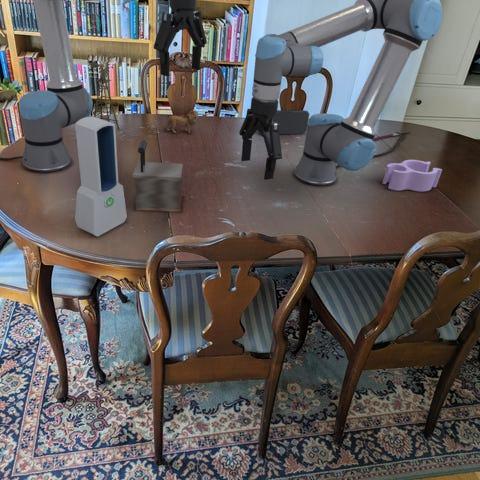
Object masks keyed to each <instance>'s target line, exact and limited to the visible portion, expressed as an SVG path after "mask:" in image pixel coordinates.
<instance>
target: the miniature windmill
mask: <svg viewBox="0 0 480 480" xmlns="http://www.w3.org/2000/svg"><path fill="white" fill-rule="evenodd" d="M104 58H106V59H104ZM99 59H100V60H99V63H97V62H94V61H90V68H91V69H98V71H99V72H98V74H99V78H98V79H96V80H95V82H96V83H98V86H97V93H96V94H97V95H96V98H95V107H94V111H93V113H94V115H93V117H96V118H97V117H98V116H99V115H100V118H99V117H98V118H99V119H102V120H105V121H108V122H111V121H113V123H114V124H115V126H116V128H117V130H120V125H119V120H118V118H117V114H116V112H115V107H114V105H113V100H112V96H111V93H110V90H109V86H108V83H109V82H111V81H112V80H111V79H109V78H108V76H109V73H110V70H109V69H110V68H111V66H110V59H109V57H108V54H105V53H103V54H102V56H100V58H99ZM106 91H107V94H106ZM107 95H108V96H107ZM103 98H104V99H103ZM108 101H109V102H110V105H111V107H110V106H108ZM103 102H104V103H105V106H104V105H103ZM99 105H100V107H98V106H99ZM103 108H104V109H105V111H103ZM109 109H110V110H109ZM97 112H98V113H97ZM111 112H112V114H113V117H114V119H111V118H110V116H109V113H111ZM103 113H105V114H106V117H107V118H106V117H103Z"/></svg>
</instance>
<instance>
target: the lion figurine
mask: <svg viewBox="0 0 480 480" xmlns="http://www.w3.org/2000/svg"><path fill="white" fill-rule="evenodd" d="M198 119H199V111H197V110H195V109H192V110H190V111H189V112H188V113H187V114H185V115H184V116H178V115H171V116H170V117H168V119H167V121H166V125H165V128H163V132H166V131H172V132H173V134H177V131H176V130H175V127H176V125H177V126H180V127H185V132H187V134H192V131H191V127H192V126H194V125H196V123H197V122H198ZM170 127H171V129H170Z"/></svg>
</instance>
